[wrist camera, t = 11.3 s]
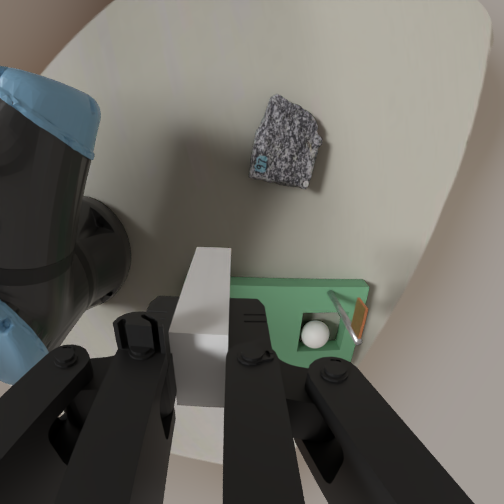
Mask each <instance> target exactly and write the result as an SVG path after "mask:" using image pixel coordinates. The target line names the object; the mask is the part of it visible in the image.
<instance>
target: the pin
mask: <svg viewBox="0 0 504 504" xmlns="http://www.w3.org/2000/svg"><path fill="white" fill-rule="evenodd" d="M327 294H328V296H329V298H330V300H331V301H332V303H333V305H334V307H335V308H336V310H337V312H338V314H339V316H340V317H341V319H342V321H343V323H344V325H345V326H346V328H347V330H348V332H349V334H350V336H351V337H352V339H353V341H354V343H355V345H360V344H361V343H362V339H361V336H362V332H363V328H364V325H365V321H366V317H367V313H368V308H367V307H366V305H365V304H364V303H363V301H362V300H361V298H360V297H359V298H357V301H356V305H355V310H354V314H353V318H352V322H351V320H350V319H349V317H348V315H347V314H346V312H345V310H344V309H343V307H342V305H341V304H340V302H339V300H338V299H337V297H336V296H335V294H334V292H333V291H332V290H329V291H328V292H327Z"/></svg>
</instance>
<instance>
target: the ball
mask: <svg viewBox="0 0 504 504" xmlns="http://www.w3.org/2000/svg"><path fill="white" fill-rule="evenodd" d="M301 338H302V341H303V343H304V344H305V345H306V346H308V347H310V348H320V347H322V346H324V345H325V344H326V343H327V341H328V339H329V329H328V327H327V325H326V324H325V323H323V322H322V321H319V320H312V321H310V322H308V323H306V324H305V325H304V327H303V328H302V331H301Z"/></svg>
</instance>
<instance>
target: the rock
mask: <svg viewBox="0 0 504 504" xmlns="http://www.w3.org/2000/svg"><path fill="white" fill-rule="evenodd" d="M317 130H318V125H317V123H316V120H315V119H314V117H313V115H312V114H311V113H309V112H308V111H306V110H304V109H302V107H301V106H299V105H297V104H293V103H291V102H289V101H288V100H287V99H285V98H283V97H282V96H280V95H278V94H276V95H274V96H272V97H271V98H270V100H269V102H268V106H267V109H266V112H265V115H264V117H263V119H262V121H261V124H260V126H259V128H258V129H257V130H256V133H255V140H254V145H253V151H252V155H251V160H250V163H251V164H250V172H249V177H250V178H254V179H260V180H264V181H267V182H269V183H271V182H274V183H277V184H279V185H284V186H292V187H300V188H302V189H306V188H307V187H308V185H309V181H310V179H311V177H312V172H313V168H314V163H315V160H316V156H317V153H318V150H317V149H318V147H320V145H322V138H321V137H320V136H319V135H318V133H317Z"/></svg>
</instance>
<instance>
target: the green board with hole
mask: <svg viewBox="0 0 504 504" xmlns="http://www.w3.org/2000/svg"><path fill="white" fill-rule="evenodd" d="M186 277H187V276H186ZM185 280H186V279H185ZM184 283H185V282H184ZM329 290H332V291H333V292H334V294H335V296H336V297H337V299H338V300H339V302H340V304H341V305H342V307H343V309H344V310H345V312H346V314H347V315H348V317H349V319H350V320H351V322H352V318H353V314H354V310H355V305H356V301H357V298H359V297H360V298H361V300H362V301H363V303H364V304H365V305H366V300H367V296H368V291H369V286H368V285H367V284H366V283H365V281H364V280H363V279H294V278H252V277H230V298H251V299H258V300H259V301H260V302H261V303H262V304H263V305H264V306H265V311H266V317H267V323H268V328H269V334H270V340H271V346H272V349H273V350H274V351H275V352H276V354H277V356H278V358H279V359H280V360H282V361H283V362H286V363H288V364H291V365H294V366H299V367H304V368H309V365H310V364H311V363H312V362H313V361H314V360H316V359H319V358H322V357H338V358H342V359H345V360H347V361H349V362H351V359H352V355H353V351H354V348H355V343H354V341H353V339H352V337H351V336H350V334H349V332H348V330H347V328H346V326H345V325H344V323H343V321H342V319H341V318H340V323H339V328H338V332H337V336H336V340H333V341H327V343H326V344H325V345H324V346H322V347H320V348H310V347H308V346H306V345H305V344H304V343H303V341H299V336H300V329H301V323H302V316H303V313H320V312H337V310H336V308H335V307H334V305H333V303H332V301H331V300H330V298H329V296H328V294H327V292H328V291H329Z"/></svg>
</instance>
